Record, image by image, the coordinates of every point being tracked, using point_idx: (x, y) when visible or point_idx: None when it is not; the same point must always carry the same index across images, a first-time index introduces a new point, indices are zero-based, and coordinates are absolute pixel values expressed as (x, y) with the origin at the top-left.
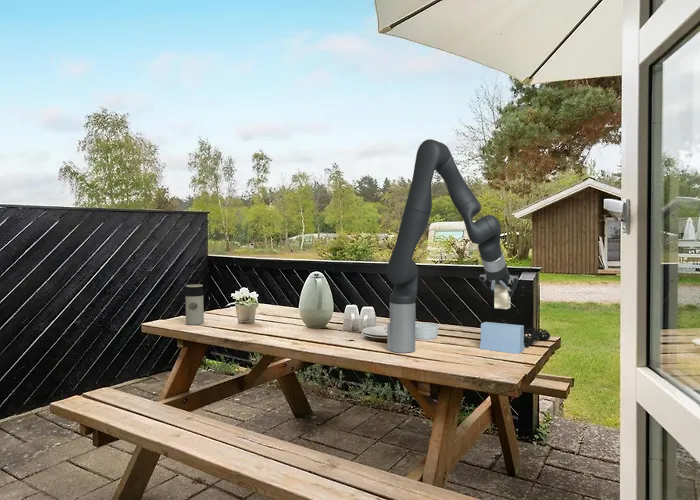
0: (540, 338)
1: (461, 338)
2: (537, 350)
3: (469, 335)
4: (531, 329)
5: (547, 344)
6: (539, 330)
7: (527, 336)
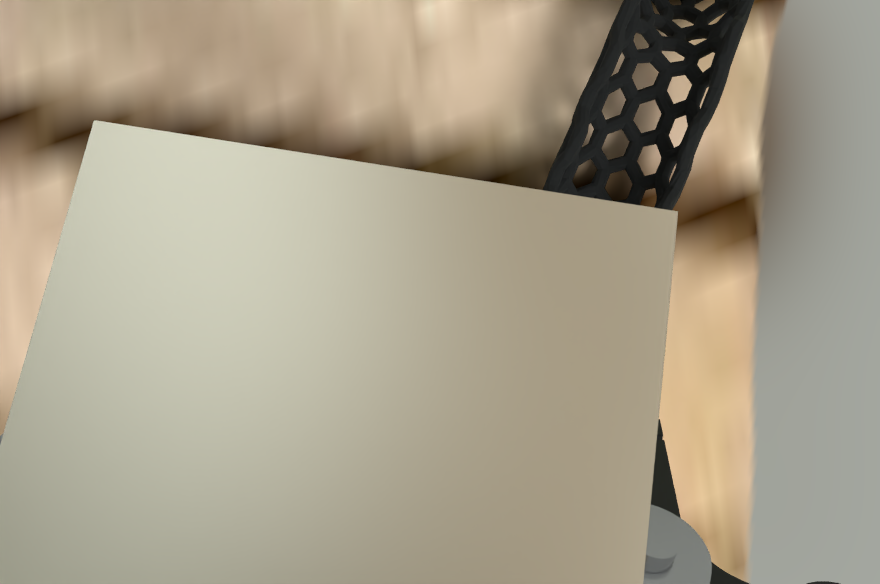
0: (684, 17)
1: (12, 164)
2: (698, 385)
3: (75, 20)
4: (636, 6)
5: (744, 127)
6: (724, 72)
7: (597, 108)
